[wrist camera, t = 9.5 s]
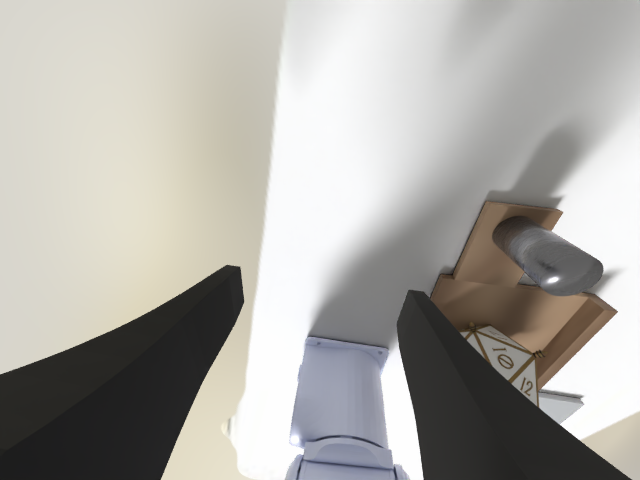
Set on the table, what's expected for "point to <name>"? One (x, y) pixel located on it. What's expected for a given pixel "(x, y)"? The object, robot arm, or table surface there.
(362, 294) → the table surface
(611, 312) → the brown base with post
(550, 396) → the broken grey strip
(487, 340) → the game die
